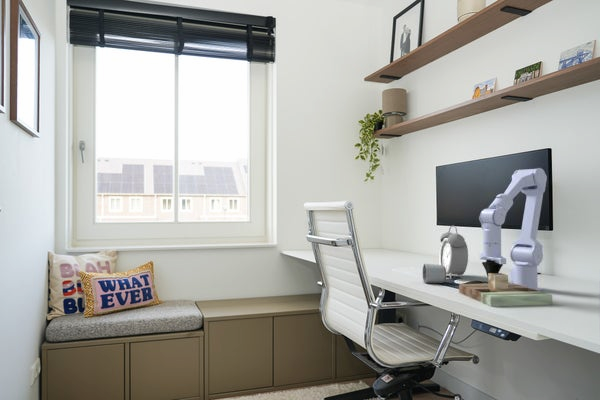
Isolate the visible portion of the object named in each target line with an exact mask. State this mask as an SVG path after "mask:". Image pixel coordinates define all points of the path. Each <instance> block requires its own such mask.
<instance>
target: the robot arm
mask: <svg viewBox="0 0 600 400" xmlns="http://www.w3.org/2000/svg"><path fill="white" fill-rule="evenodd" d="M547 179H548V176H547V175H546V172H545V170H544V169H543V168H541V167H537V168H529V169H528V168H527V169H517V170H515V171H514V172H513V174H512V175H511V182H510V184H509V185H508V187H507V188H506V189H505V191H504V193H500V194H497V195H496V197H495V199H494V200H493V201H492V202H491V204H490V205H489V206H488V207H487V208H484V209H482V210H481V212H480V214H479V216H478V219H479V222H480V224H481V229H482V230H483V232H482V233H483V234H482V235H483V236H482V237H483V238H482V239H483V241H482V243H483V245H482V246H483V253H479V260H483V261H482V262H481V264H482V266H483V268H484V270H485V272H486V276H487V278H488V273H500V272H501V269H502V267H503V266H504V265H507V258H506V257H503V256H502V225H503V224H504V223H505V220H506V216H507V213H508V211H509V210H510V209H511V208H512V206H513V205H514V201H513V200H514V198H515V197H517V195H518V194H519V193H520V192H521V193H522V194H525V196H526V199H525V205H524V212H523V216H522V217H523V218H522V225H521V229H520V230H521V231H520V236H519V238H517V239H515V240H514V241H513V243H512V247H511V249H510V252H509V258H510V260H511V262H513V265H512V266H511V268H510V283H515V284H518V285H521V286H525V287H528V288H531V289H535V290H538V291H541V292H543V291H544V289H543V288H540V287H538V266H540V264H541V263H542V262H543V260H544V253H543V245H542V243H541V242H540V241H538V240H537V237H538V230H539V224H540V217H541V210H542V203H543V196H544V193H545V191H546V186H547Z"/></svg>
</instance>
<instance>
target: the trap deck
mask: <svg viewBox="0 0 600 400" xmlns="http://www.w3.org/2000/svg"><path fill="white" fill-rule="evenodd" d="M458 293H460V294H461V295H463V296H466V297H468V298H470V299H473V300H475V301H478V302H479V303H483V304H485V305H487V306H489V307H508V306H509V307H513V306H546V305H547V306H548V305H553V294H551V293H549V292H548V293H547V292H543V291H538V290H535V289H531V288H528V287H525V286H521V285H518V284H515V283H511V282H508V289H494V288H491V287H488V282H487V283H458Z"/></svg>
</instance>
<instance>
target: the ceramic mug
mask: <svg viewBox="0 0 600 400" xmlns="http://www.w3.org/2000/svg"><path fill="white" fill-rule="evenodd" d="M446 280H447V274H446V268H445V266H443V265H440V264H436V263H423V266H422V282H423V283H424V284H443V283H445V282H446Z"/></svg>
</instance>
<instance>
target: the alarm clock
mask: <svg viewBox="0 0 600 400" xmlns="http://www.w3.org/2000/svg"><path fill="white" fill-rule="evenodd" d="M451 228H455V233H453V232H451ZM448 229H449V230H448V231H447V232H444V233H442V234H441V236H440V239H439V241H440V243H441V244H440V248H439V252H438V254H439V255H438V256H439V257H438V259H439V260H438V262H439V263H438V265H443V266H445V268H446V275H448V276H449V279H450V280H451V279H452V275H456V276H457V277H460V276H463V275H464V274H465V272H466V270H467V266H468V262H469V249H468V244H467V242H466V241H465V237H463V235H461V234H460V233H458V228H457V227H456V226H455V225H450V227H449V228H448Z"/></svg>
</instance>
